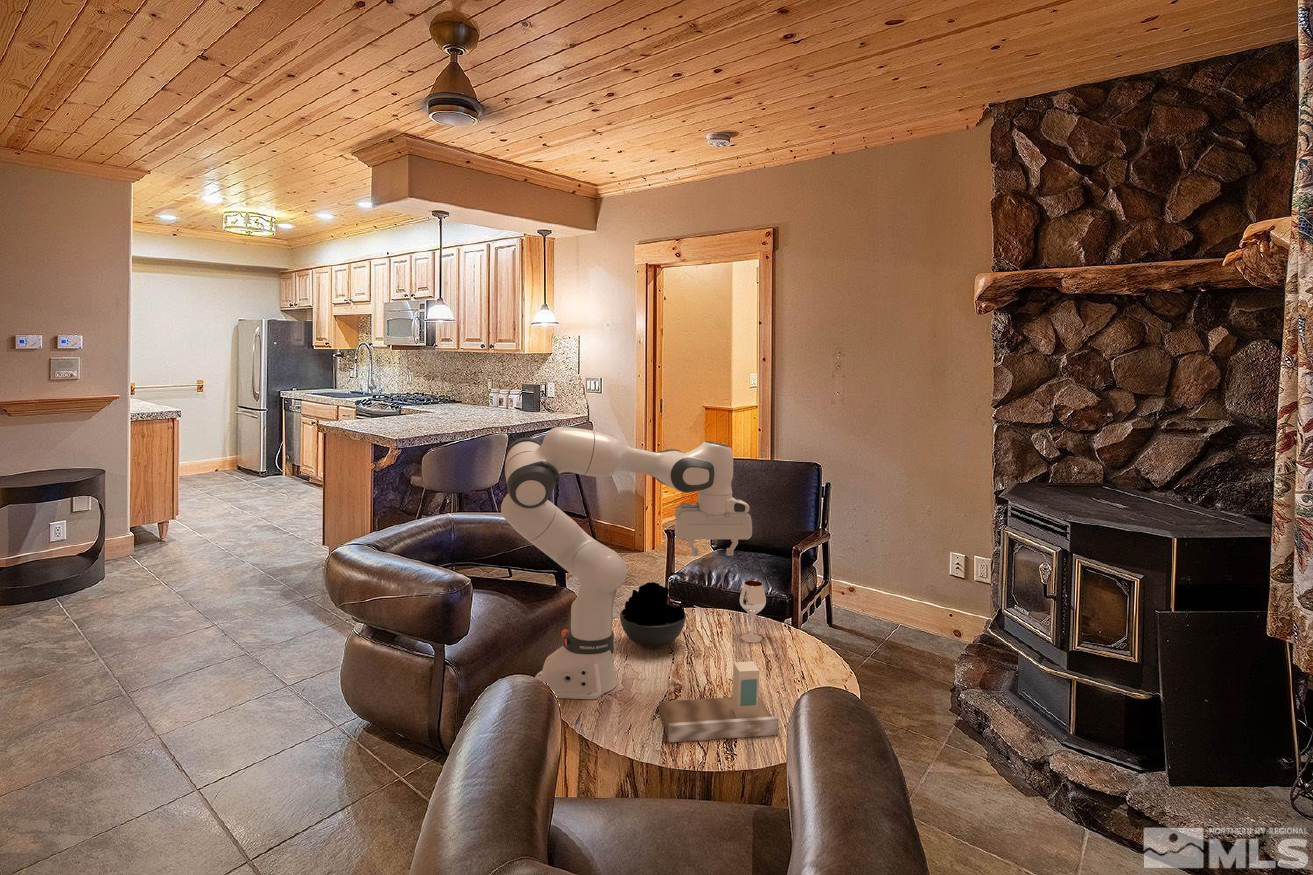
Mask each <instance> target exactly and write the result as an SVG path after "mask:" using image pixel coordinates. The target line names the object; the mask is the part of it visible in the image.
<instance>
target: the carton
mask: <svg viewBox="0 0 1313 875" xmlns="http://www.w3.org/2000/svg"><path fill="white" fill-rule="evenodd" d="M732 673H733V674H732V696H731V697H732V709H733V711H734V713H735V715H736V717H737V719H742V718H758V696H760V695H759V694H760V693H759V691H760V669H759V667H758V666H757V665H756V663H755V662H754V660H752V661H751V660H750V661H733V672H732Z"/></svg>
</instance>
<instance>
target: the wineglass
mask: <svg viewBox="0 0 1313 875" xmlns="http://www.w3.org/2000/svg"><path fill="white" fill-rule="evenodd" d="M741 588H742V589H741V591H740V596H739V604H740V606H741V607H742V609H743V610H744V611H745V612H746V613H747V614H749V616H750V631H749V633H745V634H743V635H741V637H740V639H741V640H742V641H744V642H746V643H752V644H753V643H755V644H757V643H759V642H761V641H762V640H763V639H762V637H761V635H758V634H754V618H755V616H756V615H757V614H759V613H760V612H762V610H763V609H764V608H765V607H766V603H767V597H766V593H765V589H764V588H765V587H764V583H763V582H762V581H758V580H746V581H744V582H743V586H742V587H741Z"/></svg>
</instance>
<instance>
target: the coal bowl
mask: <svg viewBox="0 0 1313 875" xmlns="http://www.w3.org/2000/svg"><path fill="white" fill-rule="evenodd" d="M669 591H670V589H669V588H668V587H666V586H663V585H661V584H659V583H657V582H654V581H652V582H651V581H648V582H647V583H645V584H643V585H640V586H638V591H637V590H636V589H633V590H632V594H631V595H630V597H629V598H628V600H626V601H625V602H624V608H623V609H622V610H621V611H620V613H619V618H620V624H621V627H622V630H623V631H624V633H625V635H626V636H627V638H628V639H629V640H630V641H632V642H633V643H634V644H636V645H638V646H640V647H642V648H645V649H650V650H651V649H652V650H653V649H654V650H655V649H661V648H665V647H666V646H668V645H670V644H672V643H673V642H675V641H676V639H677V638H679V636H680V634H681V633H682V631H683V630H684V627H685V624H686V623H685V622H686V617H687V616H686V613H685V609H684V608H683V607H682V606H681V605H678V606H675V605H671V604H667V601H668V596H669V594H670V593H669Z"/></svg>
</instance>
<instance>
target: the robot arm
mask: <svg viewBox="0 0 1313 875" xmlns="http://www.w3.org/2000/svg"><path fill="white" fill-rule="evenodd" d="M505 453H506V454H505V456H504V459H505V460H504V462H505V464H504V476H505V479H506V480H505V481H506V490H507V494H506V495H505V496H504V498H503V500H502V503H501V504H500V505H501V506H500V512H501V515H502V517H503V518H504V519H505V521H507V523H508V524H509V525H510V526H511V527H512V528H513V529H514V530H515V531H516V532H517V533H518V534H519V535H520V536H521V537H523V538H524V539H525V540H526V541H528V542H529V543H530V544H532V545H533V546H534V547H536V548H537V549H538V550H539V551H541V552H543V553H544V554H545V555H546V556H548V558H550V559H551V560H553V561H554V562H555V563H557V564H558V565H559V566H560V567H562V568H563V569H564V570H565V571H566V572H567V573H569V574H571V575H572V576H573V577H574V578H576V579H578V583H579V584H578V586H579V588H578V592H577V596H576V598H575V600H573V601H572V604H571V607H570V608H571V609H570V631H569V630H568V629H567V628H564V629H562V630H561V637H562V642H563V645H561V646H560V647H559V648H557V650H556V649H555V651H554V652H552V653H551V654H549V655H548V656H547V657H546V658H545V660H544V664H543V666H542V670H540V671H539V672H538V673H537V674H536V675H535V676H534V679H535V678H537V679H539V680H541V681H542V682H546V683H548V686H549V687H550V688H551V689H552V690H553V691H554V692H555V695H556V696H557V698H556V699H573V700H579V699H580V700H596V699H598V698H600V697H601V696H602V695H603V694H606V693H608V692H610V691H612V690H614V689H615V688H616V687H617V686H618V683H619V679H618V677H617V674H616V673H617V672H616V669H615V662H614V650H615V634H614V631H613V620H614V619H613V618H614V617H613V613H614V602H615V599H616V595H617V591H618V589H620V587H622V586H623V584H624V583H625V582H626V578H627V574H628V569H627V568H628V567H627V564H626V562H625V561H624V559H623V558H622V557H621V556H620V554H618V553H617V551H615V550H614V549H611V548H610V547H608V546H606V545H604V544H603V543H601V542H599V541H598V540H596V539H594V538H593V537H592V536H590V535H589V534H588V533H587V532H586V531H585V530H584V529H583V528H581V527H580V525H578V524H577V521H575V520H574V519H573V518H571V516H570V515H568V514H566V513H565V512H564V511H562V510H561V509H560V508H559V507H558V506H556V505H555V504H554V503H553V502H552V501H550V500H549V498H550V497H551V495H552V493H553V491H554V489H555V488H556V486H558V484H559V483H560V481H561V476H560V474H562V473H572V474H577V475H583V476H587V477H594V478H595V477H597V478H598V477H599V478H611V477H613V476H614V475H615V474H617V473H618V472H623V471H625V472H631V473H636V474H640V475H641V474H642V475H645V476H646V475H647V476H650V477H653V478H654V479H655V480H657V481H658V483H661V484H662V485H664V486H667V487H670V488H672V489H673V490H676V491H678V492H680V493H685V494H687V493H693V492H698V493H697V502H696V503H695V502H692V503H686V502H683V503H680V504H678V505H677V506H676V507H675V509H674V518H675V519H676V520H675V525H674V535H675V536H676V538H677V539H679V540H687V543H688V545H689V547H690V548H691V550H690V551H691V552H690V553H691V556H692V557H697V556H699V548H697V547H695V546H694V544H695V540H730V541H731V545H730V546H729V547H727V548H726V552H725V553H726V556H728V557H734V550H735V549H736V547H737V546H738V544H739V540H749V539H751V538H752V536H753V521H752V516H751V515H750V514H749V512H750V505H749V504H748V503H747V502H745V501H743V500H741V499H738V498H736V497H733V489H732V481H733V478H734V456H733V449H732V448H731V447H730V446H729V445H727V444H724V443H721V442H716V441H713V440H712V441H709V440H706V441H703V442H702V444H700V445H699V446H697V447H696V448H694V449H692V450H690V451H687V452H683V451H681V450H679V449H676V448H669V449H663V450H661V451H651V450H646V449H641V448H636V447H632V446H628V445H626V444H624V443H622V442H621V441H620V440H619V439H617V438H615V437H613V436H611V435H608V434H606V433H604V432H599V431H596V430H590V429H586V428H579V427H568V426H567V427H565V426H563V427H562V426H557V427H553V428H551V429H550V430H548V432H547V433H546V434H545V436H544V438H543V439H542V442H540V441H539V440H537V439H535V438H533V437H520V438H517V439H516V440H514V441H512V442H511V444H510V445H509V447H508V448H507V451H506V452H505Z"/></svg>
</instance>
